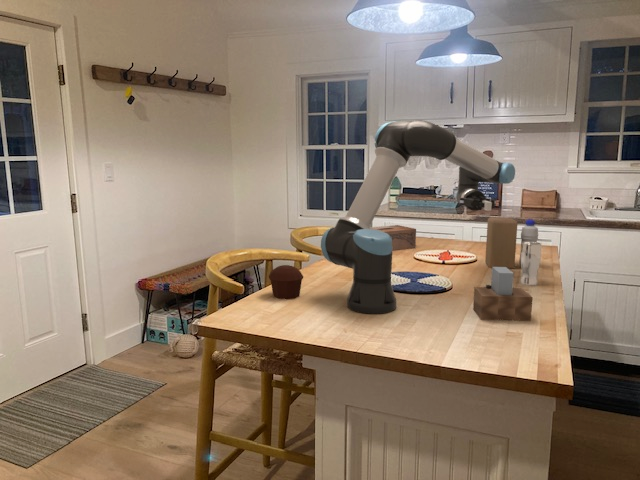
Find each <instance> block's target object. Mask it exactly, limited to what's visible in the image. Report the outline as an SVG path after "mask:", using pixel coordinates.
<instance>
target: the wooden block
mask: <svg viewBox="0 0 640 480" xmlns="http://www.w3.org/2000/svg"><path fill="white" fill-rule="evenodd" d="M517 233H518V221H517V220H515V219H513V218H511V217H488V219H487V226H486V240H485V241H486V243H485V245H486V246H485V260H484V262H485V264H486V266H488V267H489V268H490V269H492V267H506V268H508V269H509V270H513V269H515V267H516V266H515V265H516V264H515V262H516V252H517V251H516V249H517Z"/></svg>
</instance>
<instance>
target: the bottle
mask: <svg viewBox="0 0 640 480" xmlns="http://www.w3.org/2000/svg"><path fill="white" fill-rule="evenodd" d="M520 240H521V243H520V247H521V246H522V242H537V241H538V240H539V227H537V226H535V220H534V219H526V221H525V225H524V226H522V229H521V233H520ZM519 266H520V267H521V261H520V259H519Z"/></svg>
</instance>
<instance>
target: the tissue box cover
mask: <svg viewBox="0 0 640 480" xmlns="http://www.w3.org/2000/svg"><path fill="white" fill-rule="evenodd" d="M369 229H372V230H379V231H382V232H385V233H387V234H388V235H390V237H391V238H392V247H393V251H392V252H398V251H405V250H412V249H413V250H414V249H416V248H417V247H416V244H417V242H416V241H417V228H415V227H410V226H409V227H408V226H404V225H400V224H395V225H385V226H384V225H382V226H373V227H371V226H370V227H369Z"/></svg>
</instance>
